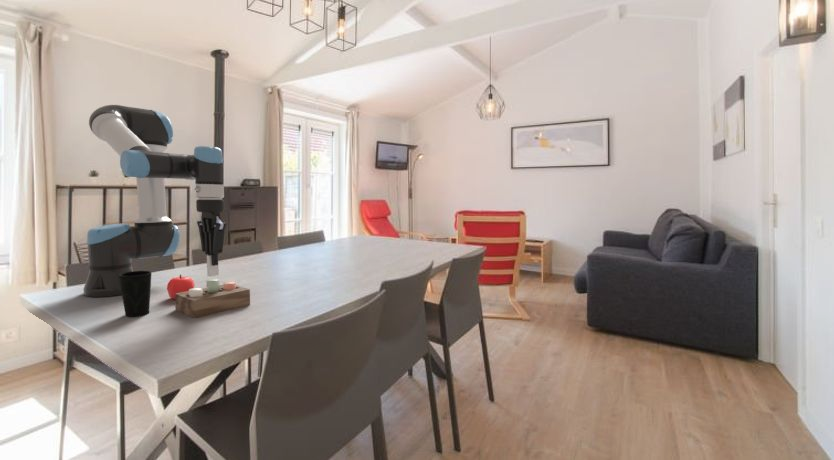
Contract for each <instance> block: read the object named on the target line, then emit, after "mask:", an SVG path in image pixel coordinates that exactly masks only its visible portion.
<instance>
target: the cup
mask: <svg viewBox="0 0 834 460" xmlns="http://www.w3.org/2000/svg"><path fill="white" fill-rule="evenodd" d="M119 281H120V287H121V292H122V295H121V297H122V303H123V304H122V305H123V308H124V315H125V317H127V318H138V317H143V316H146V315H149V314H150V305H151V304H150V303H151V287H152V285H151V284H152V271H150V270H133V271H132V272H126V273H122V274H119Z"/></svg>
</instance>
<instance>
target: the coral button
mask: <svg viewBox="0 0 834 460" xmlns="http://www.w3.org/2000/svg"><path fill="white" fill-rule="evenodd" d="M222 285H223V290H226V291H227V290H232V289H236V285H237V282H236V281H226V282H223V284H222Z"/></svg>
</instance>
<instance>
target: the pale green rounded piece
mask: <svg viewBox="0 0 834 460" xmlns="http://www.w3.org/2000/svg"><path fill="white" fill-rule="evenodd" d="M205 281H206V288H207V293H208V294H212V293H217V292H220V285H221V283H220V278H212V279H211V278H210V279H207V280H205Z"/></svg>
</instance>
